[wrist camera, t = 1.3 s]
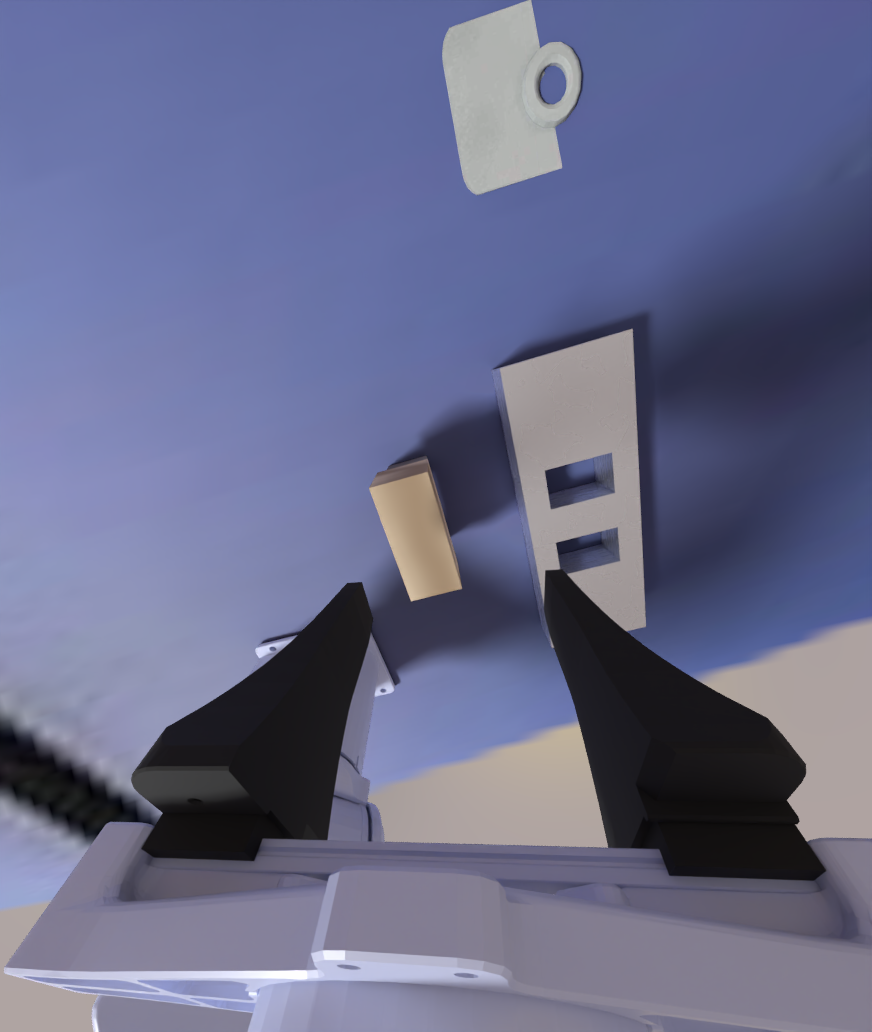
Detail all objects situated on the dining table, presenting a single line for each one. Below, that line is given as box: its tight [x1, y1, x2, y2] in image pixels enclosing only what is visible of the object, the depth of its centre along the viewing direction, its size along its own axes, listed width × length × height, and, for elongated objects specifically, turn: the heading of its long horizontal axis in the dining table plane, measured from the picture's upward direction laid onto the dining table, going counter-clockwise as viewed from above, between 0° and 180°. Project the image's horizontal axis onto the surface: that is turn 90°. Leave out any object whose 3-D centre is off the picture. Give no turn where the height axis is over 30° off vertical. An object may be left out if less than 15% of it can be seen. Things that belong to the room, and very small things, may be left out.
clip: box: [369, 456, 462, 601], centre depth 20 cm, size 3×7×6 cm, turn 16°
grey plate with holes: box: [491, 329, 646, 648], centre depth 22 cm, size 7×20×2 cm, turn 16°
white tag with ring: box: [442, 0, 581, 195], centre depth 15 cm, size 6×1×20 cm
